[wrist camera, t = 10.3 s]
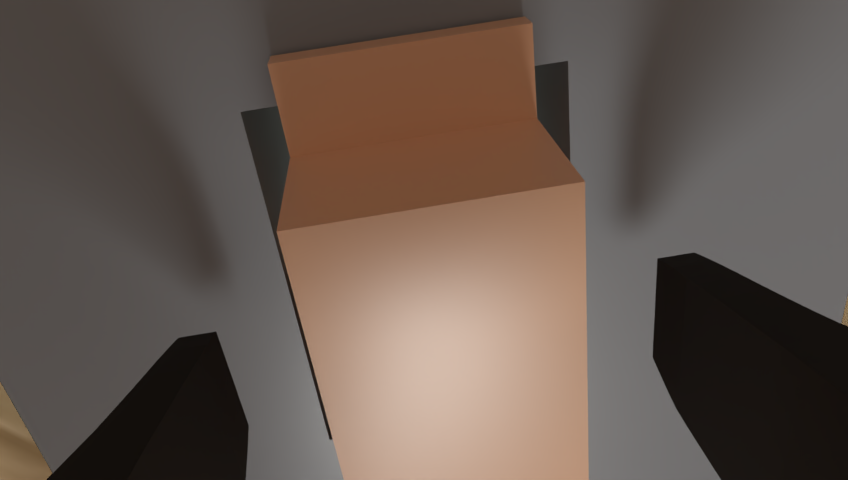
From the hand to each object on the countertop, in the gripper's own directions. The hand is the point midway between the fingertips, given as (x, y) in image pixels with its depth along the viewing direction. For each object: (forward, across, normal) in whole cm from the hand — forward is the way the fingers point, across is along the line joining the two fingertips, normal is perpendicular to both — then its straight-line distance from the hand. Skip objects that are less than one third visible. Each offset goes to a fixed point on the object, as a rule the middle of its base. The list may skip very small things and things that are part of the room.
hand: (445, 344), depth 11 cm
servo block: (+6, 0, 0) cm, 6 cm away
